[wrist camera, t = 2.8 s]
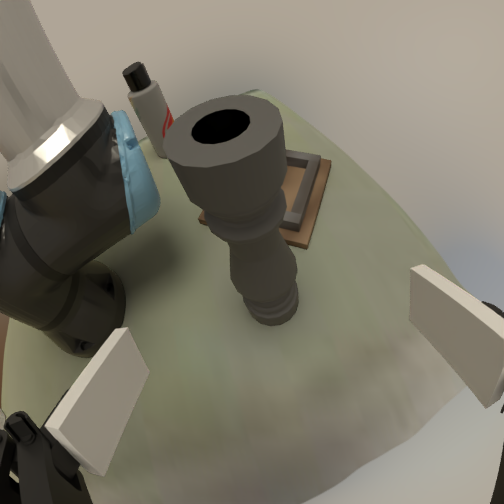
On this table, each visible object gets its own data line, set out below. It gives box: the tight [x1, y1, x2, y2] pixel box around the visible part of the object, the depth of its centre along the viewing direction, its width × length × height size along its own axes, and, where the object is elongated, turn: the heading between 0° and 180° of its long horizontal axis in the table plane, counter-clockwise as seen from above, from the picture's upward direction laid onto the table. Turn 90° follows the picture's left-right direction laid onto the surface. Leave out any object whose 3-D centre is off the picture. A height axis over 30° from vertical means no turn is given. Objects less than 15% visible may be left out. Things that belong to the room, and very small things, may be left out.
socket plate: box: [198, 150, 331, 249], centre depth 40 cm, size 16×16×3 cm
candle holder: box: [162, 95, 298, 326], centre depth 23 cm, size 6×6×25 cm
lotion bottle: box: [123, 62, 174, 158], centre depth 43 cm, size 6×6×20 cm
